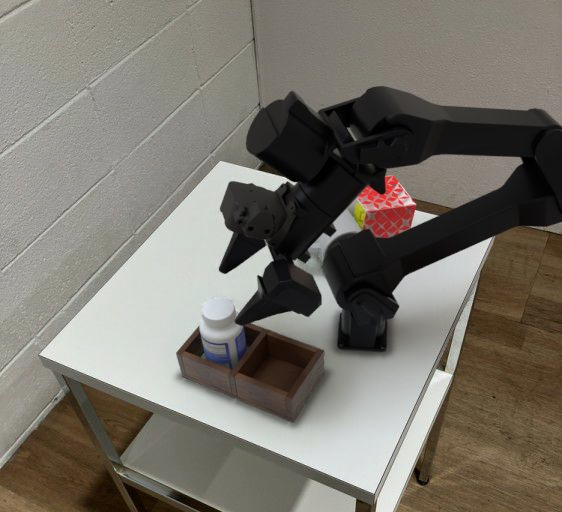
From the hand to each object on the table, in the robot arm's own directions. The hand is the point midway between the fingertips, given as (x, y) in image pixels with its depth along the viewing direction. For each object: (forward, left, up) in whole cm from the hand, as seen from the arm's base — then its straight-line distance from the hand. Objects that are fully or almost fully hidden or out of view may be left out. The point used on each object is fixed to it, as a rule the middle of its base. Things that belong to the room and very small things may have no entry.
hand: (229, 296), depth 75 cm
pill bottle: (-1, +1, -11) cm, 11 cm away
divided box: (-2, -2, -12) cm, 12 cm away
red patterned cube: (+30, -15, -7) cm, 34 cm away
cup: (+26, -8, -8) cm, 29 cm away
